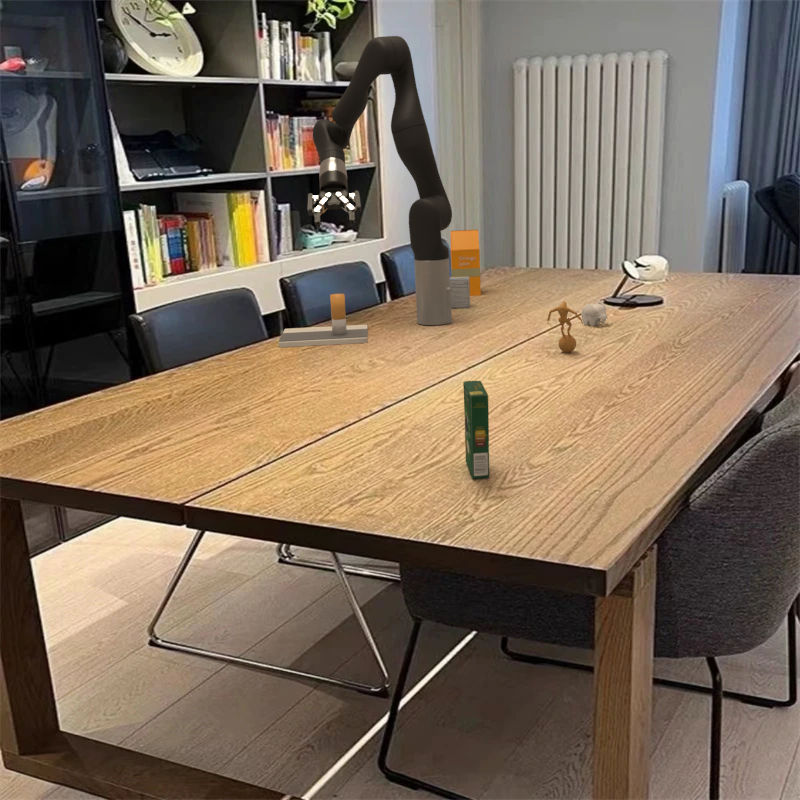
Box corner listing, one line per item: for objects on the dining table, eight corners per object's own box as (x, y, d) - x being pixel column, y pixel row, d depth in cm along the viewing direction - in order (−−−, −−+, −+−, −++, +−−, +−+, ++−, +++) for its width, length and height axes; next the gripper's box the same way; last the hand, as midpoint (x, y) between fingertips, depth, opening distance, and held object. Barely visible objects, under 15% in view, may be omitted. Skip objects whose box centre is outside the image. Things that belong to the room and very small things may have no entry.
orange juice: (480, 295, 301) (479, 230, 295) (452, 296, 301) (450, 232, 296) (479, 291, 308) (477, 228, 303) (451, 292, 308) (449, 229, 303)
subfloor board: (367, 328, 257) (367, 323, 256) (367, 342, 239) (367, 337, 239) (285, 333, 256) (284, 328, 256) (278, 347, 239) (278, 341, 239)
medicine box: (470, 305, 284) (469, 276, 282) (469, 308, 280) (469, 278, 277) (443, 306, 285) (442, 277, 283) (442, 309, 281) (441, 279, 278)
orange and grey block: (346, 332, 246) (344, 293, 244) (346, 335, 243) (344, 295, 240) (332, 332, 246) (330, 293, 244) (332, 335, 243) (329, 296, 240)
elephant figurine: (597, 329, 242) (597, 305, 240) (572, 325, 248) (572, 302, 246) (614, 324, 246) (614, 301, 245) (589, 321, 252) (589, 299, 251)
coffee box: (491, 479, 141) (489, 393, 138) (471, 480, 141) (469, 394, 138) (483, 461, 149) (481, 379, 146) (465, 462, 149) (462, 380, 145)
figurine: (588, 351, 218) (588, 299, 215) (578, 357, 213) (578, 303, 210) (553, 349, 222) (553, 297, 219) (543, 354, 218) (542, 302, 214)
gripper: (305, 170, 260) (306, 216, 252) (358, 167, 260) (361, 213, 252) (308, 189, 266) (309, 235, 258) (359, 186, 267) (362, 232, 259)
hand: (335, 224), depth 255 cm, fingers open, 8 cm apart
